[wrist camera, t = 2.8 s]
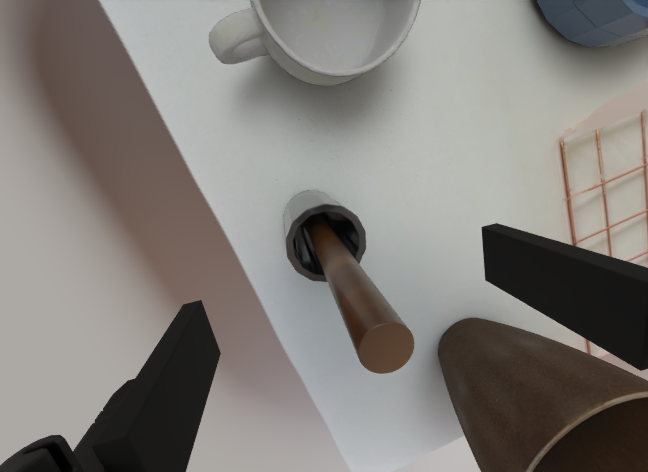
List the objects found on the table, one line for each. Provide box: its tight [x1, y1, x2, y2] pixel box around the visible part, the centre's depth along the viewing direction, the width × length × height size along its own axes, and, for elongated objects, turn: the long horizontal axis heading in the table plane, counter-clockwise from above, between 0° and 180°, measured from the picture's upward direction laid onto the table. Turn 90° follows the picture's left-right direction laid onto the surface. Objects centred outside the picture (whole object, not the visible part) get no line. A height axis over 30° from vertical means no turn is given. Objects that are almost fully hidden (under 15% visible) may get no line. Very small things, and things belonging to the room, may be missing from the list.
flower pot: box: [438, 318, 648, 472], centre depth 28 cm, size 15×15×16 cm
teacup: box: [209, 0, 421, 85], centre depth 21 cm, size 14×11×8 cm
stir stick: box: [303, 213, 414, 374], centre depth 19 cm, size 2×2×20 cm
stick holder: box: [283, 190, 366, 282], centre depth 24 cm, size 5×6×9 cm
